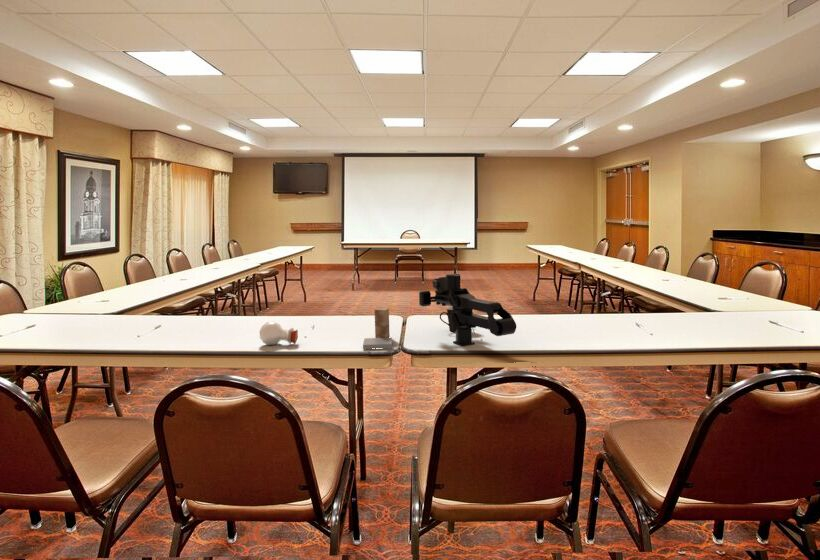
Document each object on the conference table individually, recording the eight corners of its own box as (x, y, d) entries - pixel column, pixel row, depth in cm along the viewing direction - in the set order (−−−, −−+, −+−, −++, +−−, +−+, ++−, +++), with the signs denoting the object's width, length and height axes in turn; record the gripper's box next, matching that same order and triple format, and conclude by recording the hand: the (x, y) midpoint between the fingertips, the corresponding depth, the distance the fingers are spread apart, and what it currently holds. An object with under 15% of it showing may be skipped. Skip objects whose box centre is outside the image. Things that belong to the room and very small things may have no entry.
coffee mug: (466, 328, 237) (466, 306, 236) (466, 332, 228) (466, 309, 227) (440, 328, 238) (440, 306, 237) (439, 332, 229) (439, 310, 228)
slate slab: (391, 342, 214) (391, 337, 214) (391, 349, 203) (391, 343, 203) (364, 343, 214) (364, 338, 213) (363, 349, 203) (362, 344, 202)
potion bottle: (260, 347, 217) (295, 351, 216) (253, 338, 209) (289, 342, 207) (266, 326, 222) (301, 330, 220) (259, 316, 213) (295, 321, 212)
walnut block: (389, 337, 223) (388, 308, 221) (385, 340, 218) (384, 310, 217) (379, 337, 224) (378, 307, 223) (375, 339, 220) (374, 309, 219)
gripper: (467, 277, 219) (446, 274, 233) (429, 280, 210) (409, 277, 223) (468, 303, 221) (447, 299, 234) (430, 308, 211) (410, 303, 225)
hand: (428, 294), depth 229 cm, fingers open, 9 cm apart
